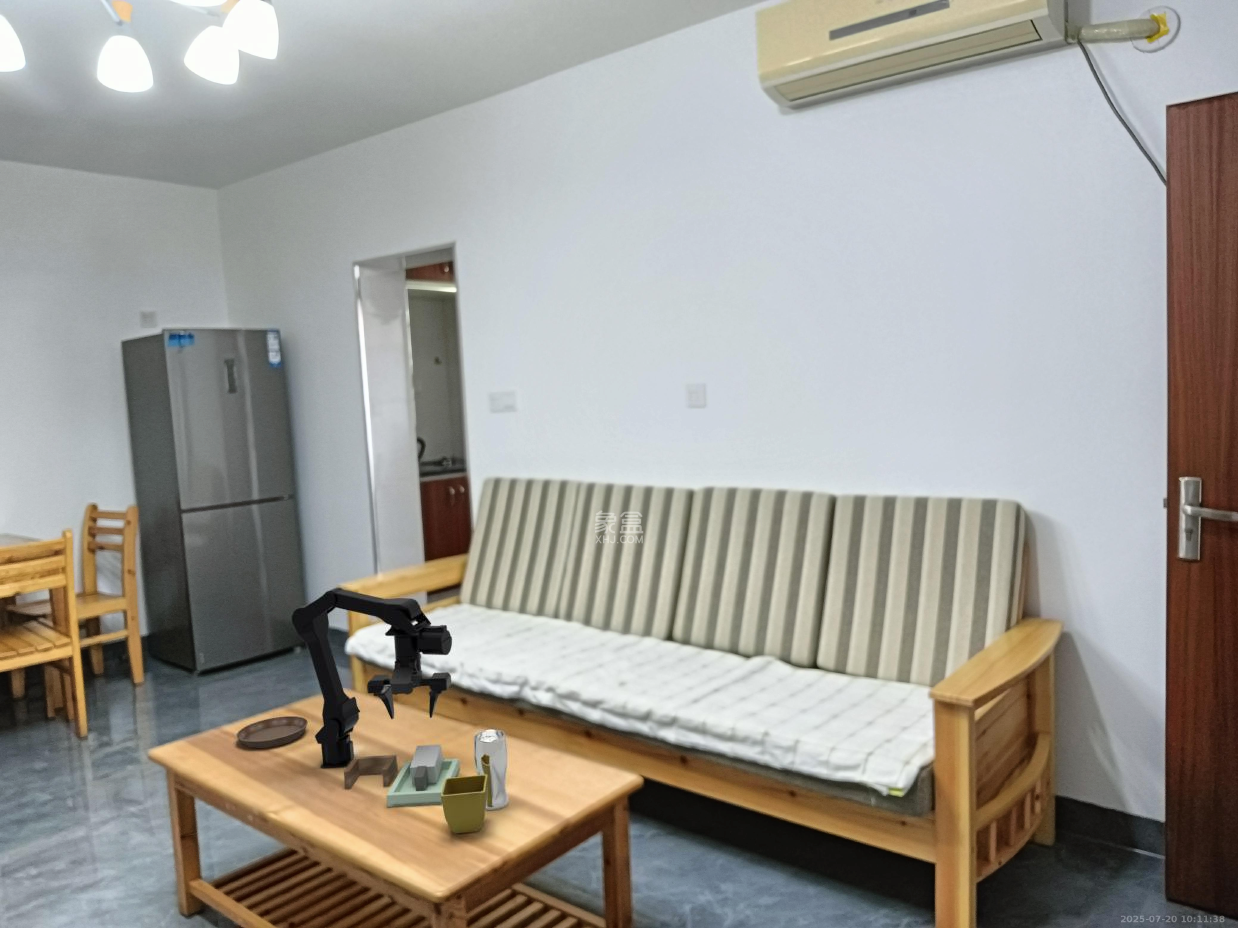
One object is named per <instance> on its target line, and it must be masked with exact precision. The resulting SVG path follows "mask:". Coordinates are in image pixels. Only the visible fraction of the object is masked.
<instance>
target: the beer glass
mask: <svg viewBox="0 0 1238 928" xmlns="http://www.w3.org/2000/svg"><path fill="white" fill-rule="evenodd" d="M507 746H508V745H507V740H506V733H505V731H503V730H501V729H500V730H499V729H488V730H487V729H486V730H482V731H479V732H476V734H474V736H473V757H474V766H475V770H476V775H485V774H486V775H487V776H488V779H487V802H486V808H485V811H486V810H488V811H495V810H500V809H502V808H505V807H506V806H508V804H509V796H508V793H507V785H506V783H507V782H506V781H507V772H508V771H507V769H508V748H507Z"/></svg>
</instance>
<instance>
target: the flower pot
mask: <svg viewBox="0 0 1238 928" xmlns="http://www.w3.org/2000/svg"><path fill="white" fill-rule="evenodd" d="M487 779H488V776H487V775H486V774H485V775H478V774H476V775H475V774H474V775H467V776H466V775H464V776H457V777H453V778H446V779H445V780H444V785H443V788H442V792H441V801H442V804H441V805H442V809H443V815H444V819H445V821H446V823H447V824H446V825H448V828H450V830H451V831H452V832H453V833H454V834H463V833H465V834H466V833H474V832H475V833H476V832H479V831H480V830H481V829H482V827H483V824H484V819H485V815H486V814H485V813H486V809H485V808H486V802H487Z"/></svg>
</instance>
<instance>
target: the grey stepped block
mask: <svg viewBox="0 0 1238 928" xmlns="http://www.w3.org/2000/svg"><path fill="white" fill-rule="evenodd" d="M411 761H412V763H411V766H410V772H411V778H412V785H414V784H415V789H416V791H426V788H427V785H428V784H432V783H437V781H438V777H439V774H440V770H441V767H442V763H443V752H442V744H426V745H425V744H423V745H416V748H415V751H414V754H413V758H412V760H411Z"/></svg>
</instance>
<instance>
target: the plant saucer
mask: <svg viewBox="0 0 1238 928" xmlns="http://www.w3.org/2000/svg"><path fill="white" fill-rule="evenodd" d="M308 722H309V721H308V719H307V718H305V717H301V716H296V715H295V716H293V715H291V716H290V715H287V716H286V715H285V716H278V717H277V716H276V717H272V718H266V719H263V720H259V721H255V722H253V723H250V724H248V725H245V726H244V727H243V728H241V729H239V730H238V732H236V738H237V739H238V741H239V742H241V744H243V745H245V746H246V747H248V748H252V749H269V748H274V747H280V746H283V745H285V744H288V743H291V742H294V741H295V740H297V739H298V738H299V737H301V735H303V733H304V732H305V730H306V728H307V726H308V724H309V723H308Z"/></svg>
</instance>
